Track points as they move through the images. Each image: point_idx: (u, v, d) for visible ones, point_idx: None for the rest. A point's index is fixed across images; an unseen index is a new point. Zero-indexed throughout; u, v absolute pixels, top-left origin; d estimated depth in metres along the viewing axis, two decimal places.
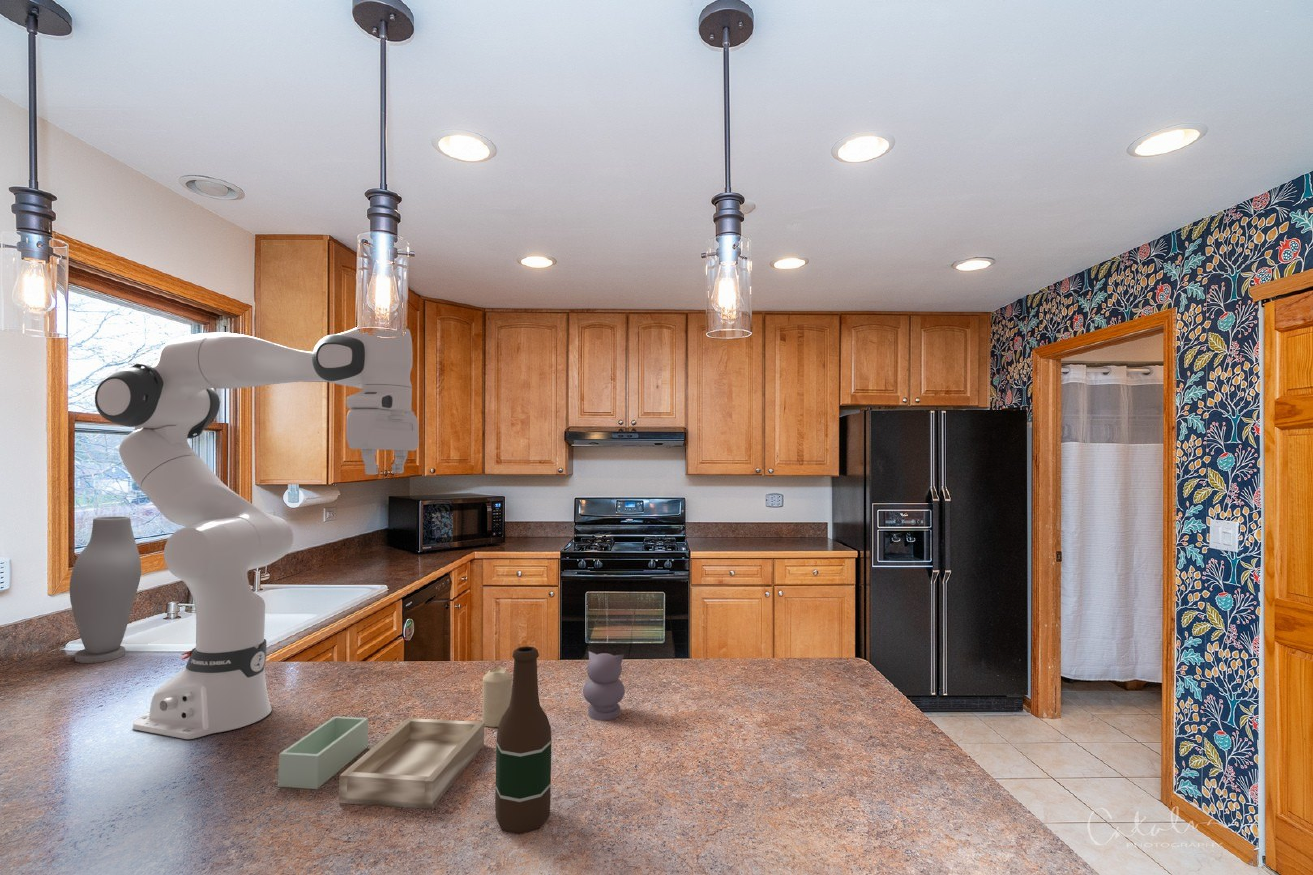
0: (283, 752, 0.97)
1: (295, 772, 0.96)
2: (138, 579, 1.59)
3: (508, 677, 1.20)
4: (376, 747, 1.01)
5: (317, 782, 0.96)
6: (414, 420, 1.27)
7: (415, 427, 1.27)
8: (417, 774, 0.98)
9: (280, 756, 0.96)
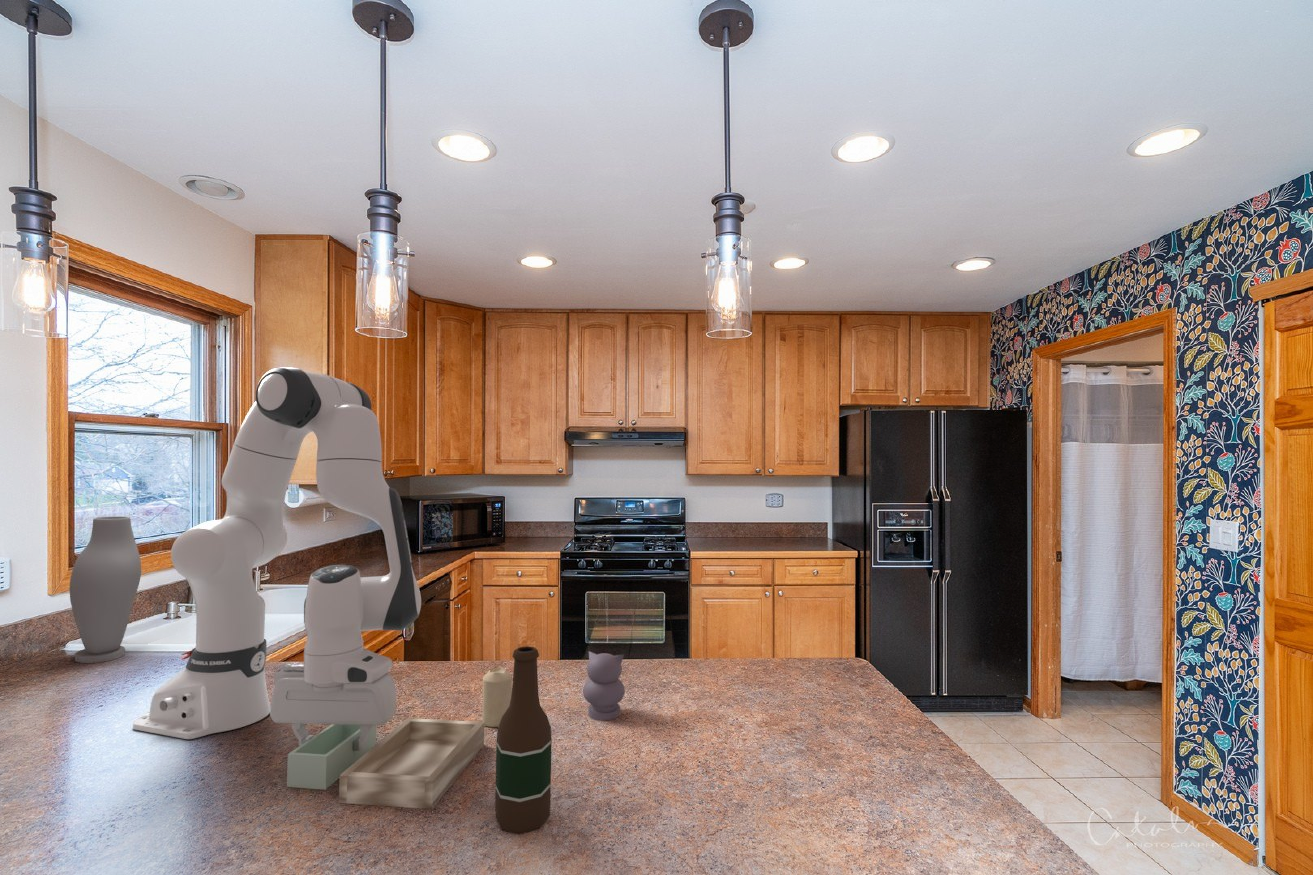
0: (292, 752, 0.96)
1: (303, 772, 0.96)
2: (138, 579, 1.59)
3: (508, 677, 1.20)
4: (376, 747, 1.01)
5: (326, 783, 0.95)
6: None
7: None
8: (417, 774, 0.98)
9: (289, 757, 0.96)
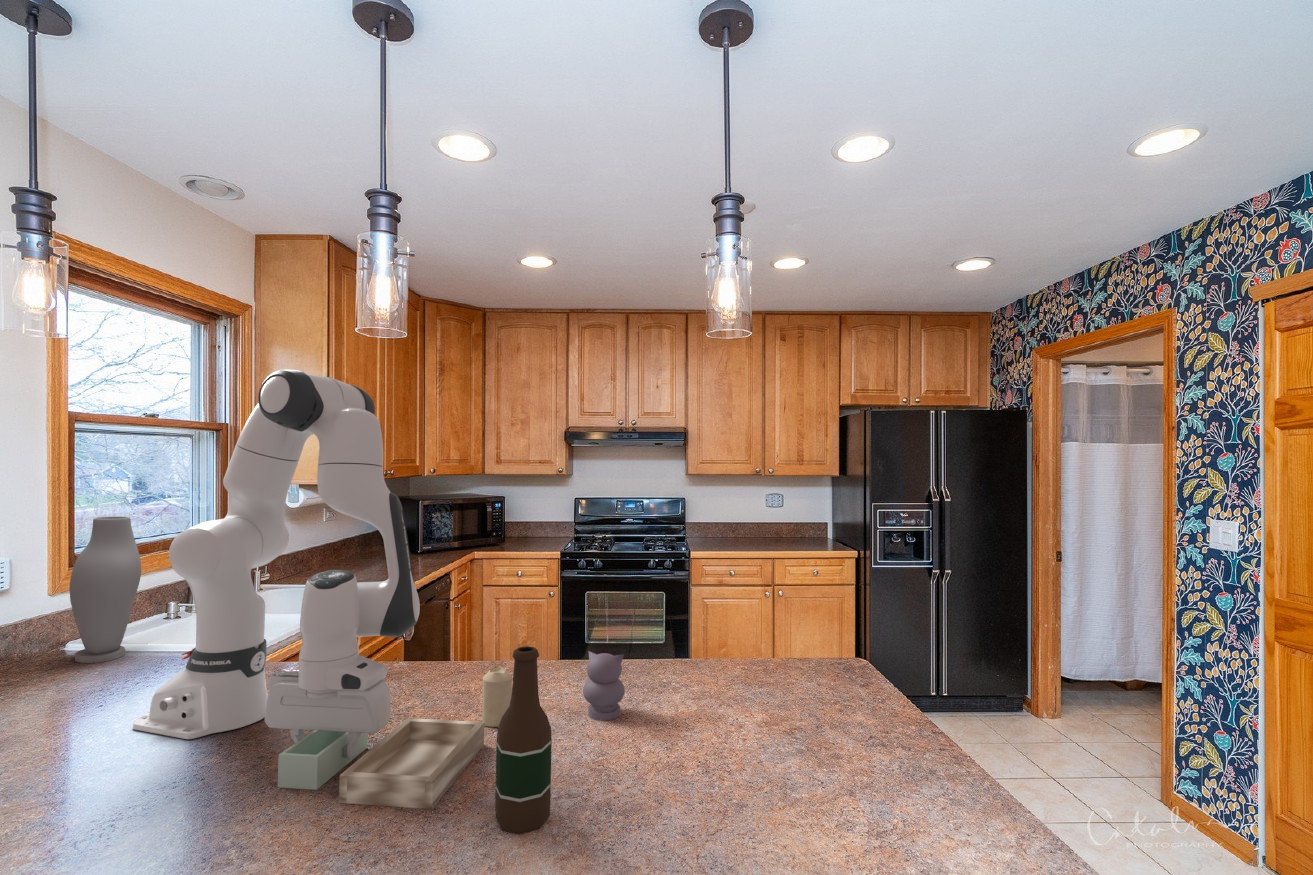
0: (283, 753, 0.96)
1: (294, 773, 0.96)
2: (138, 579, 1.59)
3: (508, 677, 1.20)
4: (376, 747, 1.01)
5: (317, 783, 0.95)
6: None
7: None
8: (417, 774, 0.98)
9: (279, 757, 0.96)
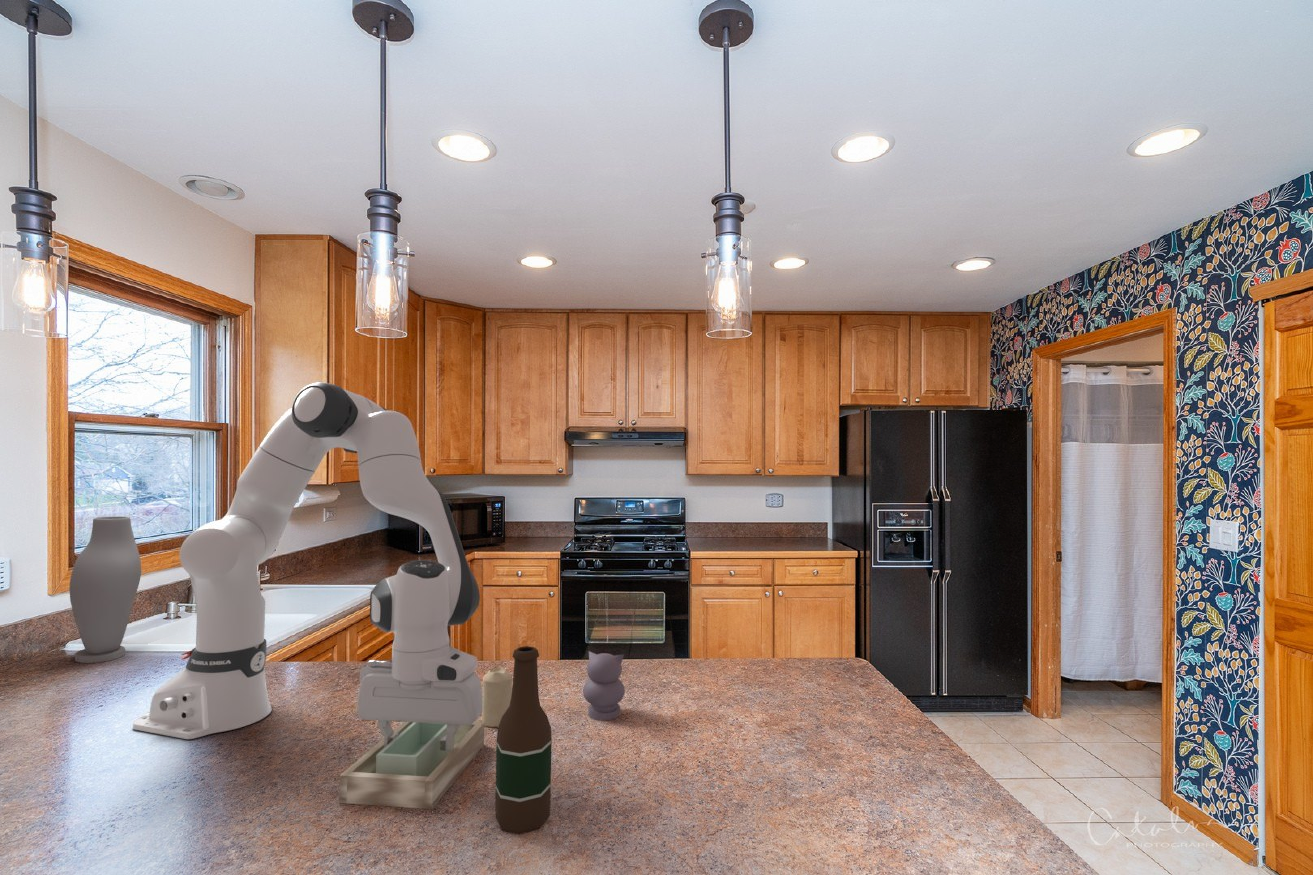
0: (380, 753, 0.95)
1: (393, 773, 0.94)
2: (138, 579, 1.59)
3: (508, 677, 1.20)
4: (376, 747, 1.01)
5: None
6: None
7: None
8: None
9: (377, 757, 0.94)
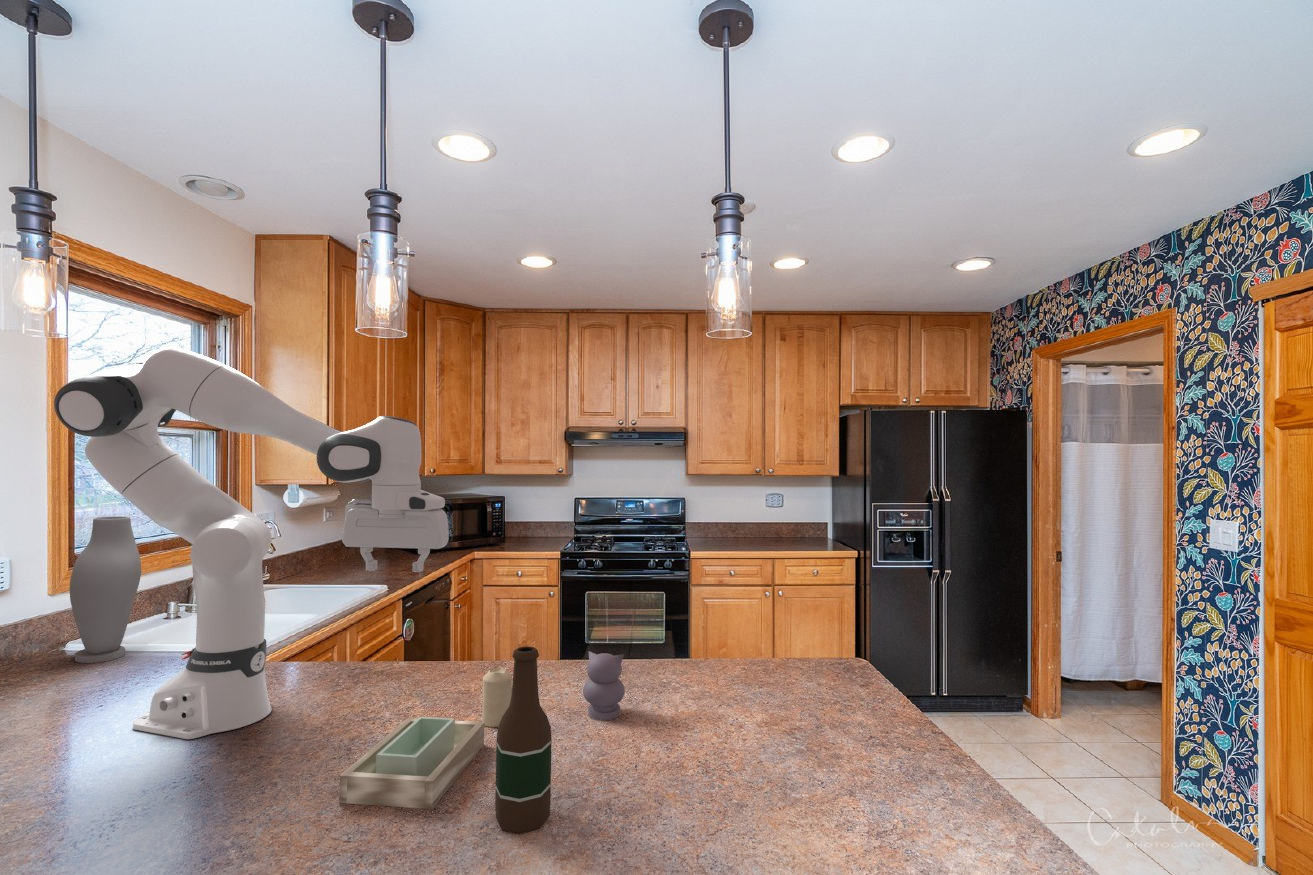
0: (380, 753, 0.95)
1: (393, 773, 0.94)
2: (138, 579, 1.59)
3: (508, 677, 1.20)
4: (376, 747, 1.01)
5: None
6: None
7: None
8: None
9: (377, 757, 0.94)
